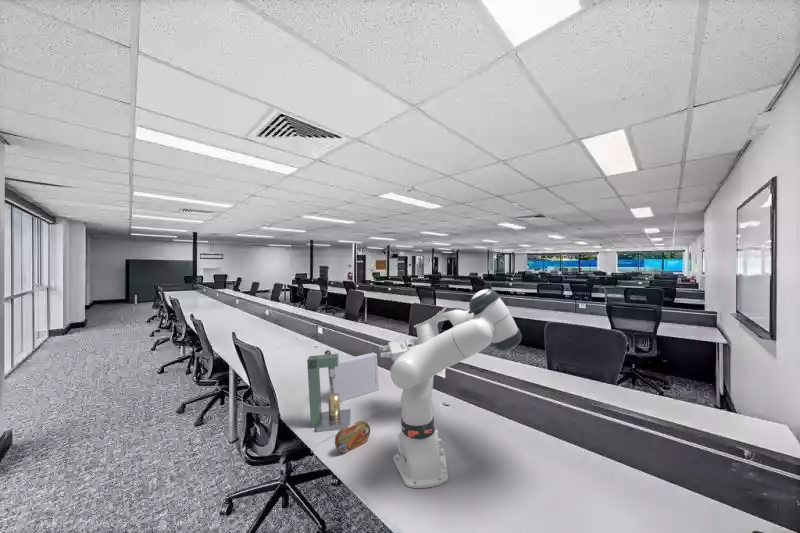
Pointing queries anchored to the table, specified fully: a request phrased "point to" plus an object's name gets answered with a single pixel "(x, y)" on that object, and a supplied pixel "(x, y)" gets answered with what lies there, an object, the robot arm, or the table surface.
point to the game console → (355, 376)
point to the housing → (334, 406)
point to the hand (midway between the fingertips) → (379, 351)
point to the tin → (352, 436)
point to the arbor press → (316, 415)
